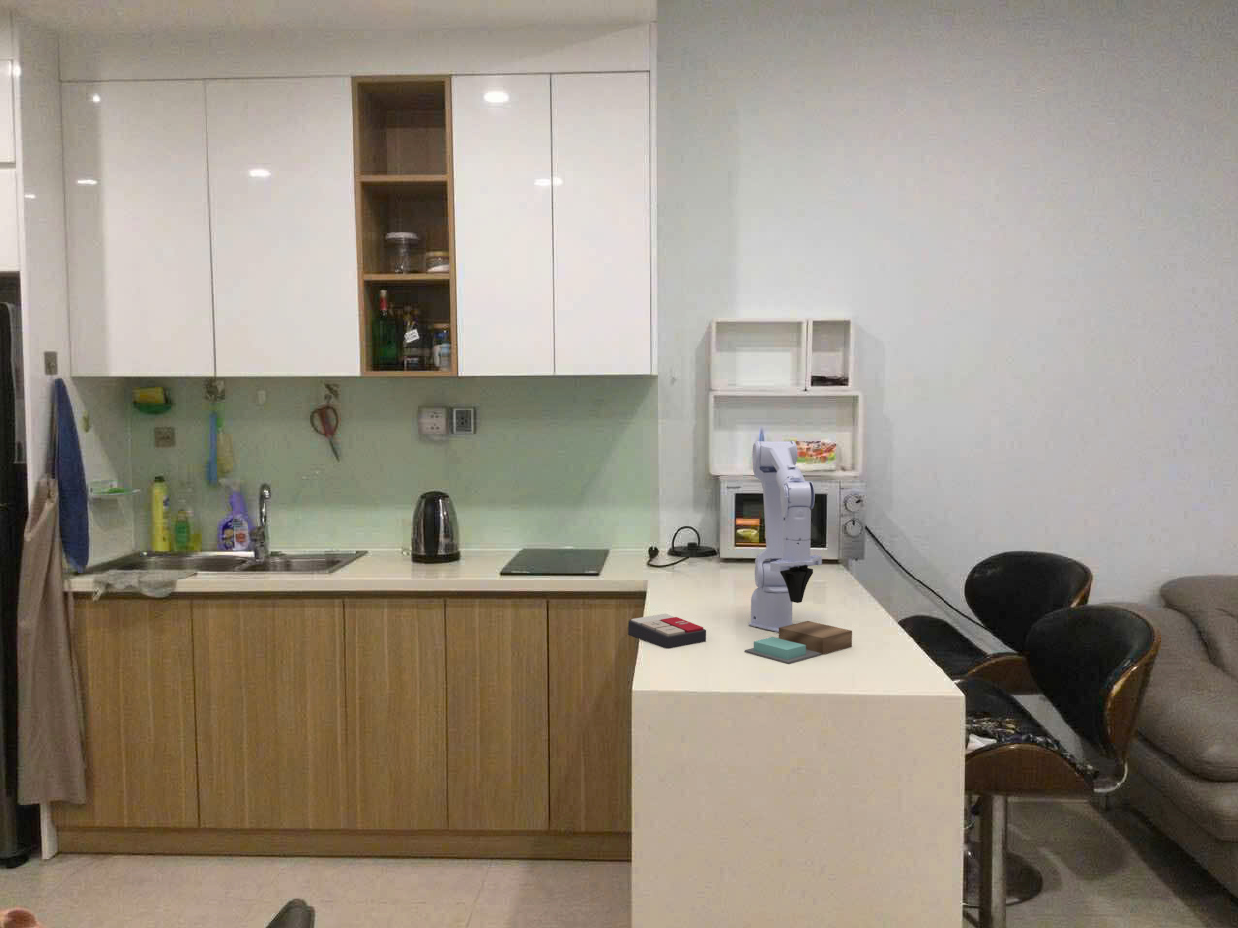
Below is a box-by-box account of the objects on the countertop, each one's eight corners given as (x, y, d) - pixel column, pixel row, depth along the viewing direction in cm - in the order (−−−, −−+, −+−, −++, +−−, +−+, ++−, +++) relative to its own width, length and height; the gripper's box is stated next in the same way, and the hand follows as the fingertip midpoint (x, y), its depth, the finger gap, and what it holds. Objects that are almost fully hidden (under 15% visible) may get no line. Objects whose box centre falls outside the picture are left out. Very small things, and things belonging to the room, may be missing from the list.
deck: (778, 643, 201) (778, 627, 201) (807, 636, 207) (807, 620, 207) (822, 654, 192) (823, 638, 192) (851, 646, 198) (852, 630, 198)
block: (772, 636, 197) (772, 645, 197) (753, 641, 193) (753, 650, 193) (805, 645, 190) (805, 654, 190) (787, 649, 186) (786, 659, 186)
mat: (744, 651, 194) (744, 650, 194) (777, 643, 201) (777, 641, 201) (788, 663, 185) (788, 662, 185) (821, 654, 191) (821, 653, 191)
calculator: (667, 633, 196) (627, 617, 209) (667, 653, 197) (627, 635, 209) (707, 626, 203) (666, 610, 215) (706, 645, 203) (665, 628, 215)
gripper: (788, 544, 187) (788, 609, 188) (833, 537, 196) (832, 600, 197) (762, 540, 192) (762, 604, 193) (807, 533, 201) (806, 594, 202)
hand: (796, 601), depth 195 cm, fingers closed
